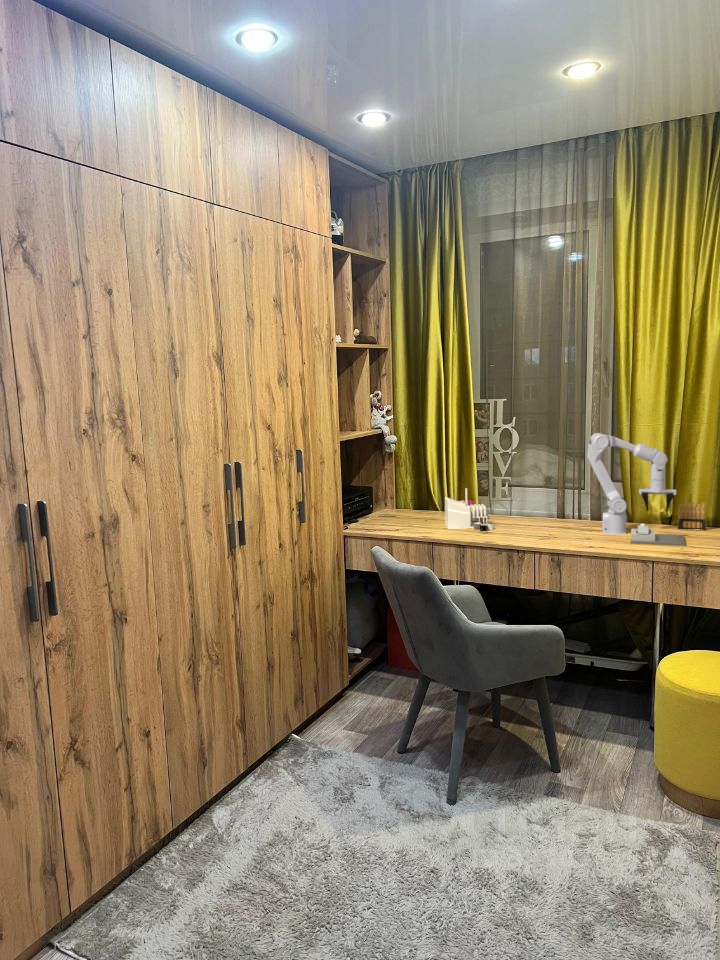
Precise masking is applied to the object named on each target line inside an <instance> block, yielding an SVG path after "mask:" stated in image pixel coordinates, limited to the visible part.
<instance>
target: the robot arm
mask: <svg viewBox="0 0 720 960" xmlns="http://www.w3.org/2000/svg"><path fill="white" fill-rule="evenodd" d="M587 445H588V447H587V453H586V454H587V456H586V457H587V460H588V462H589V464H590V467H591V468H592V470H593V472H594V474H595V476H596V478H597V480H598V482H599V485H600V486H601V488H602V490H603V492H604V494H605V498H606V501H607V502H606V503H607V506H608V510H607V512H603V513H602V526H601V529H602V534H603V535H604V534H605V535H621V534H626V535H627V533H626V532H627V531H628V530H627V528H626V525H627V524H626V523H627V522H626V521H627V518H626V516H627V512H626V510H627V508H628V503H627V501H625V499H623V498H622V497H621V495H620V493H619V491H618V490H617V488H616V487H615V485H614V483H613V481H612V479H611V477H610V474H609V473H608V470H607V469H606V467H605V465H604V463H603V461H602V459H601V457H602V454H603V452H605V450H606V449H607V448H608V447H609V448H612V447H617V448H619V449H620V448H621V449H623V450H626V451H629V452H631V453H632V455H633V457H635V458H638V459H641V460H643V461H645V462H649V463H650V481H649V483H650V484H649V485H650V488H639V489H638V494H639V495H641V498H642V499H643V501H644V505H645V508H646V509H645V510H646V512H649V495H666V506H665V512H669V508H670V505H671V502H672V500H673V499H674V496H675V495H676V496H677V489H669V488H668V489H667V488H666V464H667V463H668V460H669V459H668V457H667V455H666V453H664V452H663V451H660V450H658V449H657V448H655V447H654V448H652V447H649V446H647V444H645V443H638V444H633V443H630V442H628V441H626V440H623V439H621V438H619V437H616V436H614V435H609V434H603V433H601V432H596V433H595V432H594V433H593V434H592V435H591V436H590V438H589V440H588V444H587Z"/></svg>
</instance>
